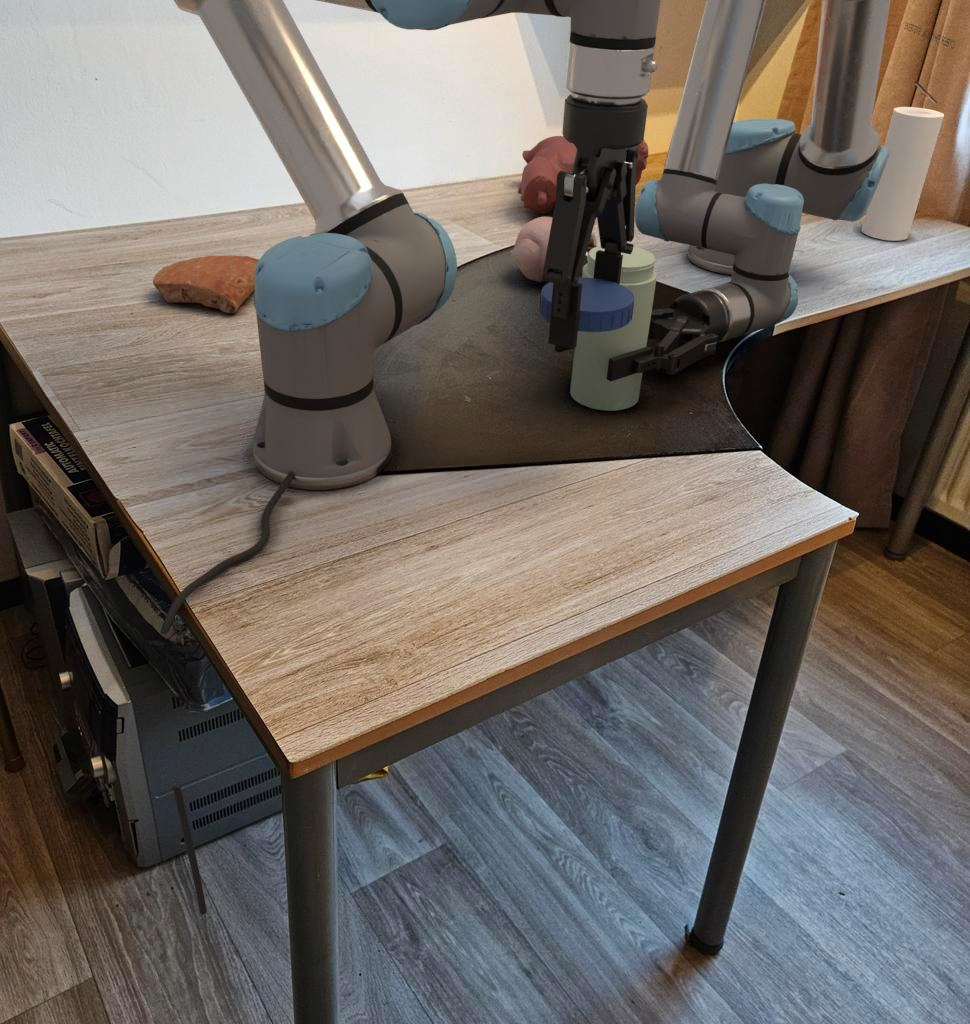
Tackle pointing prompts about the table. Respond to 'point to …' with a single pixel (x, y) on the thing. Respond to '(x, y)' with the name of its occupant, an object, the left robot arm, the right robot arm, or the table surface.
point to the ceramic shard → (209, 281)
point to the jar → (615, 339)
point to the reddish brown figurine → (554, 171)
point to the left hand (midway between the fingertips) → (583, 328)
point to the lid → (596, 305)
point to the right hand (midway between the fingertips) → (583, 355)
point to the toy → (536, 247)
